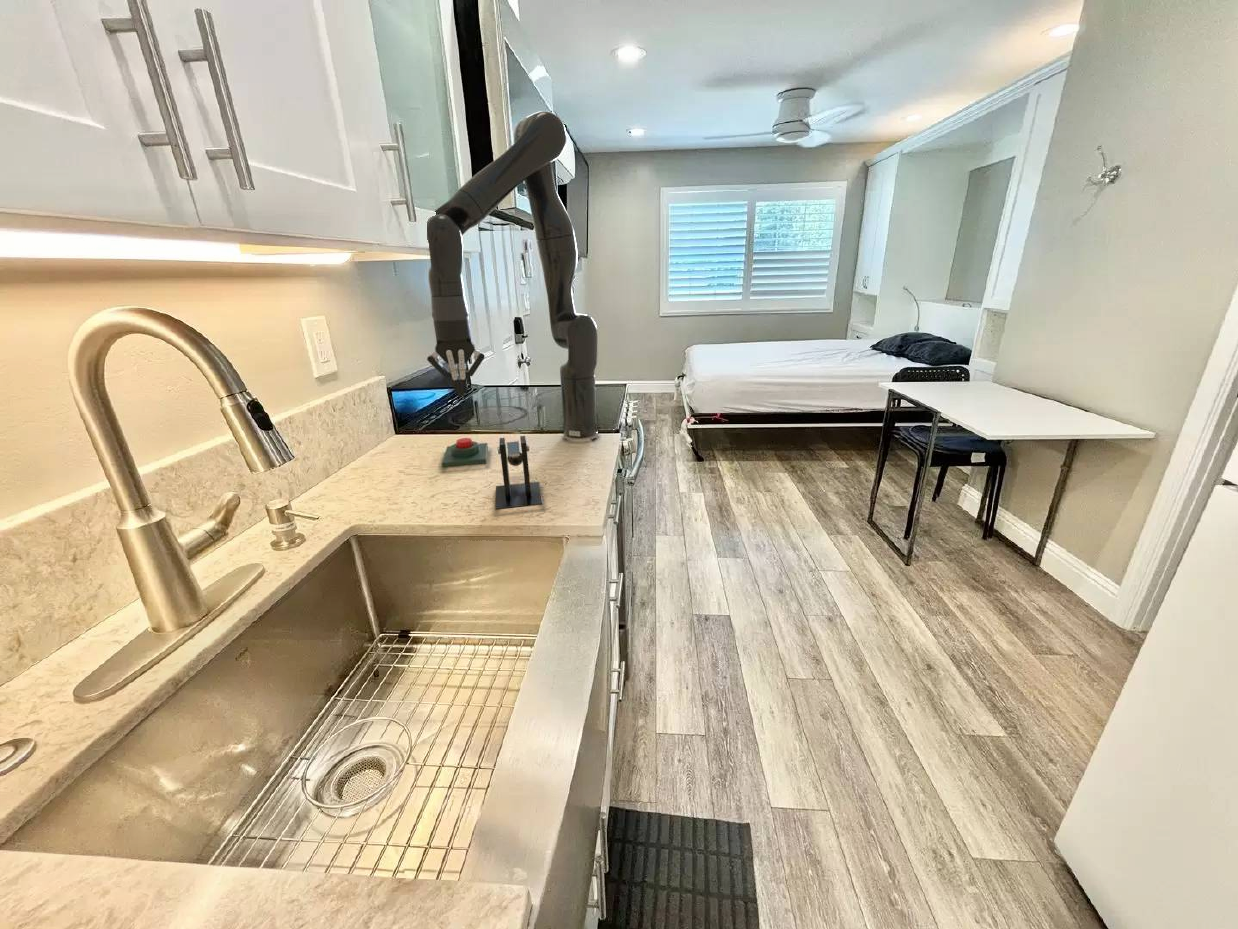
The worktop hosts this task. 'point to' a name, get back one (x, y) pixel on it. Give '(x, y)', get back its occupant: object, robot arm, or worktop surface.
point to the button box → (465, 455)
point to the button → (464, 443)
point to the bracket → (516, 492)
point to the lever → (514, 453)
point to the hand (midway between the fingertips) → (461, 395)
